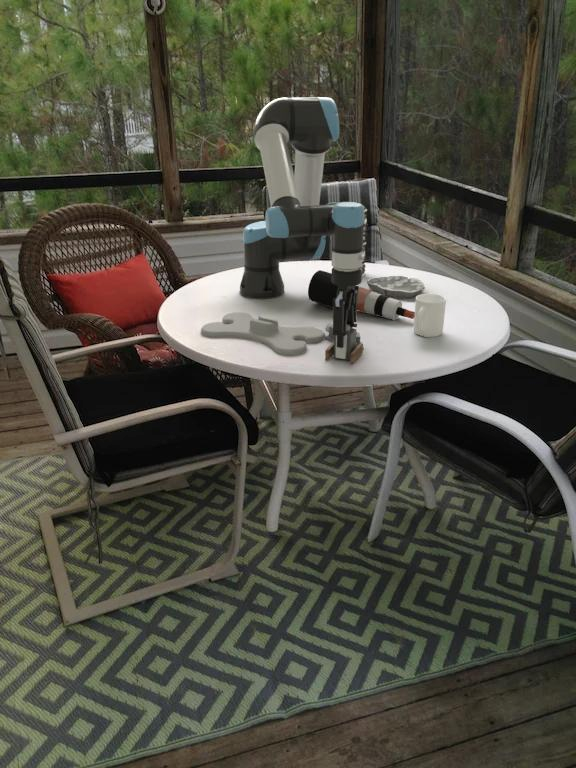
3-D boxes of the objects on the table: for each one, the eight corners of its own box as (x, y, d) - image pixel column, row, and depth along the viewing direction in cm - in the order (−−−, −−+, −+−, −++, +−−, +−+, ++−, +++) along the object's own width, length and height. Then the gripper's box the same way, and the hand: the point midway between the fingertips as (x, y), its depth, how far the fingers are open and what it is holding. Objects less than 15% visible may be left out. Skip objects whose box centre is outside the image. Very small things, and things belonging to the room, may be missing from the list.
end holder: (325, 359, 171) (325, 349, 170) (335, 349, 178) (335, 339, 176) (353, 364, 168) (353, 354, 167) (362, 353, 175) (363, 343, 174)
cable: (406, 338, 196) (405, 315, 188) (310, 307, 212) (305, 284, 204) (421, 316, 201) (421, 292, 193) (326, 286, 216) (322, 263, 208)
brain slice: (435, 290, 225) (435, 282, 223) (410, 303, 213) (411, 294, 211) (385, 280, 236) (385, 272, 234) (359, 292, 224) (359, 283, 223)
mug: (429, 344, 180) (432, 308, 176) (402, 337, 185) (404, 302, 180) (447, 331, 189) (450, 296, 185) (420, 325, 194) (423, 291, 189)
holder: (295, 359, 173) (295, 341, 171) (195, 335, 189) (193, 318, 187) (330, 336, 187) (330, 320, 185) (234, 315, 204) (233, 300, 202)
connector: (349, 360, 170) (350, 330, 167) (333, 357, 172) (334, 327, 168) (355, 353, 174) (356, 324, 170) (339, 351, 176) (340, 322, 172)
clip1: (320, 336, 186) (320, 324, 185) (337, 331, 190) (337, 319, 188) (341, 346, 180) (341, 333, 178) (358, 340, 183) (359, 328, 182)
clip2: (338, 343, 181) (339, 331, 180) (361, 343, 181) (362, 330, 180) (339, 350, 177) (340, 338, 175) (363, 350, 176) (364, 338, 175)
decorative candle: (367, 271, 245) (370, 203, 234) (364, 278, 237) (367, 208, 226) (343, 270, 247) (345, 202, 236) (339, 277, 239) (341, 207, 228)
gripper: (349, 278, 154) (346, 369, 164) (371, 260, 169) (367, 344, 179) (320, 275, 157) (318, 364, 167) (344, 257, 171) (341, 340, 181)
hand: (344, 354), depth 173 cm, fingers closed on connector, 4 cm apart
